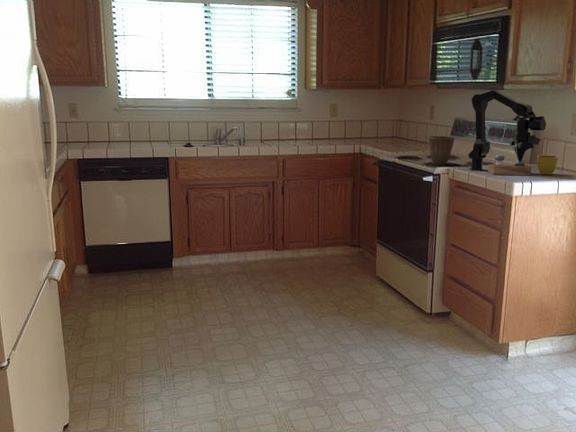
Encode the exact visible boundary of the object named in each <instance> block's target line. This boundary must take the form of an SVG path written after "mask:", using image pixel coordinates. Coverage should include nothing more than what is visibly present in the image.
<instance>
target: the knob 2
mask: <svg viewBox="0 0 576 432" xmlns="http://www.w3.org/2000/svg"><path fill="white" fill-rule="evenodd" d="M514 162H515V163H514V165H516V166H525V165H526V161H524V160H522V161H518V160H515V161H514Z"/></svg>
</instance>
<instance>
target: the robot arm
mask: <svg viewBox="0 0 576 432" xmlns="http://www.w3.org/2000/svg"><path fill="white" fill-rule="evenodd" d="M493 100H495V101H497V102H498V103H501V104H503V105H505V106H506V107H508V108H510V109H511V110H512V112H513V113H514V114H516V116H515V117H514V118H512V121H514V122H515V121H516V129H515V130H516V131H515V132H514V134H515V139H511V140H510V141H509V146H510V147H512V146H513V147H512V148H513V150H514V152H515V155H516V158H517V161H523V159H524V155H525V153H526V152H527V150H529V149H534V148H535V146H536V145H537V146H539V144H540V141H541V138H539V137H536V135H534V134H531V132H529V131H539V132H540V131H544V130H546V126H547V123H546V121H547V120H546V119H545V116H537V115H536V114H535V112H534V110H533V106H532V105H531V104H529V103H526V102H525V103H524V102H521V101H517V100H515V99H514V98H512V97H510V96H509V95H506V94H504V93H502V92H501V91H499V90H498V89H492V90H489V91H487V92H483V93H477V94H474V95H473V96H472V98H471V105H472V108H473V110H474V112H475V141H474V143H473V147H472V150H471V151H470V152H469V153H468V154H467V155H468V159H471V162H470V164H471V165H470V167H469V168H468V169H469V170H471V171H484V170H485V168H483V164H484V163H483V160H484V159H486V158H487V155H488V154H489V153H490V150H491V147H490V146H491V142H490V141H488V139H487V138H486V134H487V133H486V111H487V110H486V109H487V108H488V104H489V102H492V101H493Z"/></svg>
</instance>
